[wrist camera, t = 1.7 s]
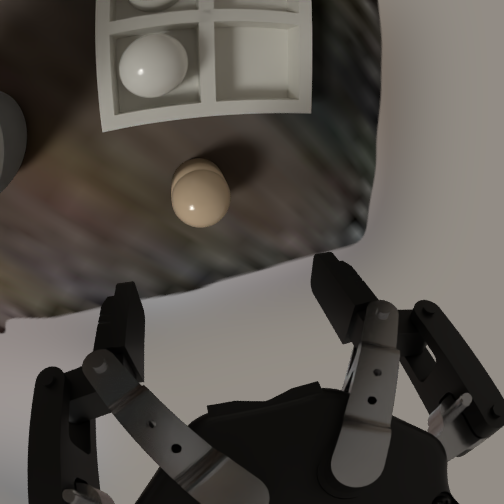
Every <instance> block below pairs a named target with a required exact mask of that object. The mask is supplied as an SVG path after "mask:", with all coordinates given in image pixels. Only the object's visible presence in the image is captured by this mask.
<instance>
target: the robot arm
mask: <svg viewBox="0 0 504 504" xmlns="http://www.w3.org/2000/svg"><path fill="white" fill-rule="evenodd" d="M311 288H312V292H313V294H314V296H315V298H316V299H317V301H318V303H319V304H320V306H321V307H322V309H323V311H324V313H325V314H326V316H327V318H328V320H329V321H330V323H331V325H332V326H333V328H334V330H335V332H336V333H337V335H338V337H339V338H340V340H341V342H342V344H346V343H350V342H352V343H353V345H354V347H353V350H352V354H351V358H350V362H349V366H348V370H347V373H346V377H345V381H344V384H343V387H342V390H337V389H331V388H321V387H320V384H319V382H318V381H317V382H313V383H310V384H306V385H302V386H299V387H295V388H292V389H290V390H288V391H286V392H284V393H282V394H280V395H278V396H276V397H274V398H272V399H270V400H268V401H232V402H226V403H221V404H215V405H208V406H207V409H208V413H207V414H204V415H202V416H200V417H199V418H197V419H195V420H194V421H192V422H191V423H190V424H189V425H188V426H187V425H186V424H184V423H183V422H182V421H181V420H180V419H179V418H178V417H177V416H175V414H173V413H172V412H171V411H170V410H169V409H168V408H167V407H166V406H165V405H164V404H163V403H162V402H161V401H160V400H159V399H158V398H157V397H156V396H155V395H154V394H153V393H152V392H151V391H150V390H149V389H148V388H147V387H145V386H144V385H143V386H141V385H140V384H139V382H144V337H145V315H144V310H143V306H142V303H141V300H140V297H139V294H138V291H137V288H136V285H135V283H134V282H133V281H132V282H125V283H118V284H117V285H116V290H115V295H114V296H110V297H107V299H106V300H105V301H104V303H103V304H102V306H101V311H100V317H99V321H98V322H99V324H98V326H97V332H96V337H95V343H94V349H93V352H92V353H90V354H89V355H87V357H86V358H85V359H84V361H83V364H82V366H81V367H79V368H77V369H74V370H71V371H68V372H66V373H63V372H62V370H61V369H60V368H57V367H48V368H45V369H44V370H42V371H41V372H40V374H39V375H38V376H37V379H36V383H35V388H34V395H33V402H32V410H31V419H30V429H29V443H28V444H29V445H28V499H29V504H115V503H114V501H113V500H112V498H111V497H110V496H109V495H108V494H106V493H105V492H103V491H101V490H100V484H99V474H98V464H97V449H96V420H95V419H96V418H97V417H100V416H103V415H106V414H108V413H111V412H112V414H113V415H114V416H115V417H116V419H117V420H118V421H119V422H120V423H121V425H122V426H123V427H124V428H125V429H126V431H127V432H128V433H129V434H130V435H131V436H132V437H133V438H134V440H135V441H136V442H137V443H138V444H139V445H140V446H141V447H142V448H143V449H144V451H145V452H146V453H147V454H148V455H149V456H150V457H151V458H152V459H153V460H154V461H155V462H156V463H157V464H158V465H159V466H160V467H159V468H158V470H157V471H156V473H155V475H154V476H153V477H152V479H151V481H150V482H149V483H148V485H147V486H146V488H145V489H144V491H143V492H142V494H141V496H140V497H139V498H138V500H137V501H136V503H135V504H459V503H458V502H457V501H456V500H455V499H454V498H453V497H452V495H451V493H450V490H449V486H448V479H447V462H448V461H450V460H451V459H453V458H454V457H461V456H463V455H465V454H466V453H468V452H469V451H471V450H472V449H474V448H475V447H476V446H478V445H479V444H480V443H482V442H483V441H485V440H486V439H487V438H489V437H490V436H491V435H493V434H494V433H495V432H496V431H498V430H499V429H500V428H501V427H502V426H504V399H503V397H502V395H501V394H500V392H499V390H498V389H497V387H496V386H495V384H494V383H493V381H492V379H491V378H490V376H489V375H488V373H487V372H486V370H485V369H484V367H483V366H482V364H481V363H480V361H479V360H478V359H477V357H476V356H475V354H474V353H473V351H472V350H471V349H470V347H469V346H468V344H467V343H466V342H465V340H464V339H463V338H462V336H461V335H460V334H459V332H458V331H457V330H456V328H455V327H454V326H453V324H452V323H451V322H450V321H449V319H448V318H447V317H446V315H445V314H444V313H443V312H442V310H441V309H440V308H439V307H438V306H437V305H436V304H435V303H433V302H431V301H427V300H421V301H418V302H417V303H416V304H415V306H414V308H413V310H397V308H396V307H395V306H394V305H393V304H391V303H390V302H387V301H384V300H378V298H377V297H376V296H375V295H374V293H373V292H372V291H371V290H370V288H369V287H368V286H367V285H366V283H365V282H364V281H362V278H361V277H360V276H359V275H358V274H357V272H356V271H355V270H354V269H353V267H352V266H350V265H349V264H347V263H346V262H344V261H339V260H338V259H337V258H336V257H335V256H334V254H333V253H332V252H326V253H319V254H315V255H314V258H313V267H312V275H311ZM426 345H428V346H429V348H430V349H431V350H432V352H433V354H434V355H435V358H436V362H435V361H434V359H433V357H432V356H431V354H430V353H429V351H428V350H427V348H426ZM399 361H400V362H401V364H402V366H403V368H404V369H405V371H406V373H407V375H408V376H409V378H410V380H411V382H412V384H413V385H414V387H415V389H416V391H417V392H418V394H419V396H420V398H421V400H422V402H423V404H424V405H425V407H426V409H427V411H428V413H429V415H430V416H429V418H428V426H429V428H428V432H426V431H424V430H422V429H420V428H418V427H416V426H413V425H411V424H409V423H407V422H405V421H403V420H401V419H399V418H397V417H394V416H392V412H393V406H394V399H395V393H396V385H397V378H398V369H399Z"/></svg>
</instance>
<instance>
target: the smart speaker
mask: <svg viewBox="0 0 504 504" xmlns="http://www.w3.org/2000/svg"><path fill="white" fill-rule="evenodd" d="M26 143H27V128H26V122H25V118H24V115H23V113H22V110H21V108H20V107H19V105H18V104H17V102H16V101H15V100H14V99H13V98H12V97H10V96H9V95H8V94H6V93H4V92H1V91H0V193H1V192H2V191H3V190H4V189H5V188H6V187H7V186H8V184H9V183H10V182H11V181H12V179H13V178H14V176H15V175H16V173H17V171H18V170H19V168H20V165H21V163H22V160H23V157H24V154H25V150H26Z"/></svg>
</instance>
